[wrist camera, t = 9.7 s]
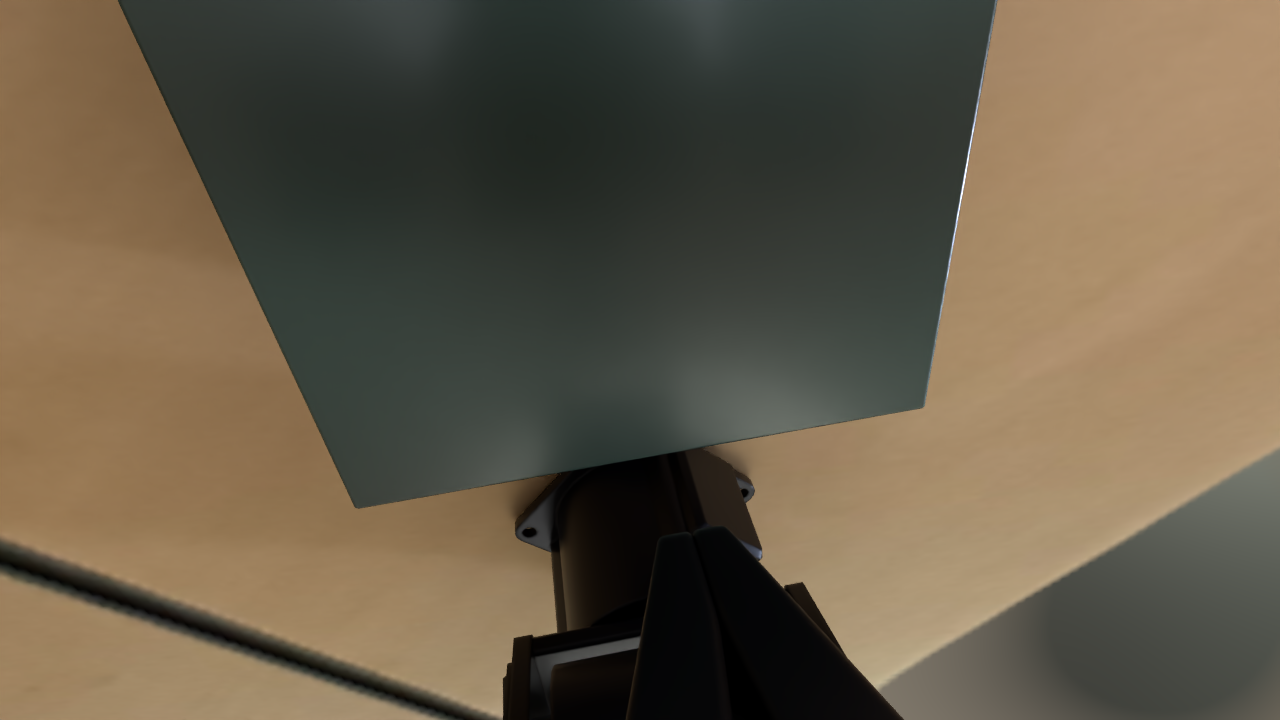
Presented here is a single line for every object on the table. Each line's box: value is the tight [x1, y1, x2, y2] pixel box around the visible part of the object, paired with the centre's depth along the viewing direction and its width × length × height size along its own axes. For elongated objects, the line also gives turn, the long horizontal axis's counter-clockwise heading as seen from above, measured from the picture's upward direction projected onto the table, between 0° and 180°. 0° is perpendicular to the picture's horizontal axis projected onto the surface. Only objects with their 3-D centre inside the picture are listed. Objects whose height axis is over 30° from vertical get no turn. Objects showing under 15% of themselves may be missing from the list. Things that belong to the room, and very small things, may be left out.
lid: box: [118, 0, 997, 509], centre depth 11 cm, size 13×12×1 cm
